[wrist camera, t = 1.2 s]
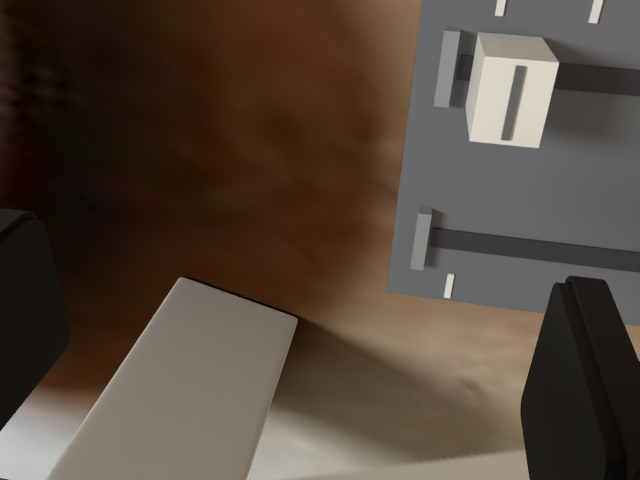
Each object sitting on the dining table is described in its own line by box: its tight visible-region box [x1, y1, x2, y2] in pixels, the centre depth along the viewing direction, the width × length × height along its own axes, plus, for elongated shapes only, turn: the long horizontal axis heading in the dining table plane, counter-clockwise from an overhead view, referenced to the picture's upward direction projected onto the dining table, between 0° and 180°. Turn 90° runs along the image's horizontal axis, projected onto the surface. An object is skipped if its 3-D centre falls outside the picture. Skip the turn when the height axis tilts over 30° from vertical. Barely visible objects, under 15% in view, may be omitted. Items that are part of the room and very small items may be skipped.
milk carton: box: [45, 277, 298, 480], centre depth 28 cm, size 7×7×19 cm
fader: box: [466, 32, 559, 148], centre depth 23 cm, size 3×2×4 cm
